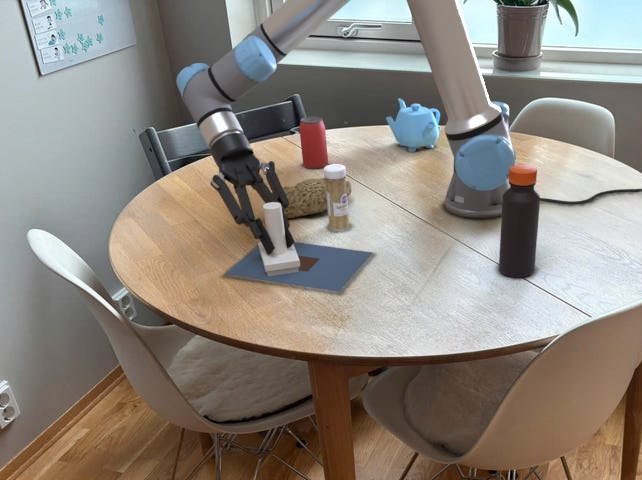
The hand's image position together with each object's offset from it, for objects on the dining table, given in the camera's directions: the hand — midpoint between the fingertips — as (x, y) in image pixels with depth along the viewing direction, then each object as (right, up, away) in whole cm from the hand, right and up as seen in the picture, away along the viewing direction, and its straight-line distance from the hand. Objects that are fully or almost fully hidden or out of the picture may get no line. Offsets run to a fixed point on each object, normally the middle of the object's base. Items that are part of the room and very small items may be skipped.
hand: (281, 247), depth 139 cm
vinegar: (+45, -5, 0) cm, 46 cm away
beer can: (0, +30, +51) cm, 59 cm away
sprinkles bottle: (+9, +7, +18) cm, 22 cm away
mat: (+3, -3, +3) cm, 5 cm away
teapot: (+26, +38, +63) cm, 78 cm away
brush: (-1, -3, +3) cm, 4 cm away
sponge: (+2, +13, +26) cm, 29 cm away
